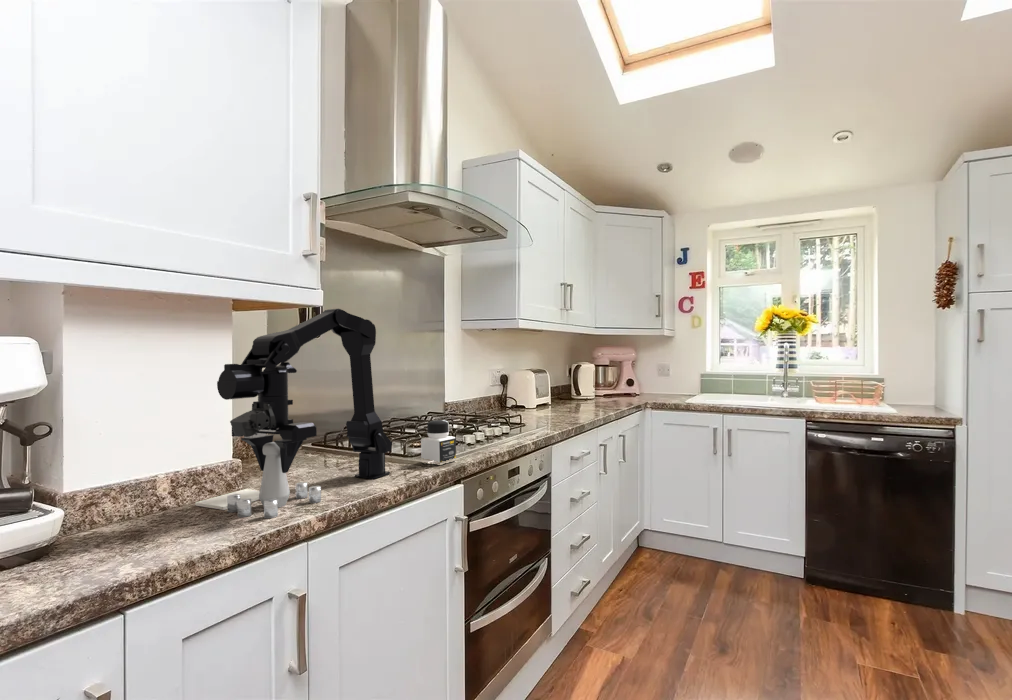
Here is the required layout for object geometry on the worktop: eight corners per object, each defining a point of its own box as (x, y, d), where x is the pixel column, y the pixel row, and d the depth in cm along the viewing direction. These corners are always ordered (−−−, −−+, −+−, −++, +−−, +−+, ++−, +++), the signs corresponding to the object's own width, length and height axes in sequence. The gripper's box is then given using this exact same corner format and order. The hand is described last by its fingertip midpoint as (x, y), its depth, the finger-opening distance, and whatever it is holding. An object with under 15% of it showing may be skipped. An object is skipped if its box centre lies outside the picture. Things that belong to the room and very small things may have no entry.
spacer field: (285, 493, 116) (285, 479, 116) (328, 498, 110) (328, 484, 110) (217, 513, 101) (217, 498, 101) (263, 521, 96) (263, 505, 96)
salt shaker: (270, 511, 102) (269, 445, 102) (253, 507, 105) (252, 443, 105) (296, 504, 107) (295, 441, 107) (279, 500, 110) (278, 439, 110)
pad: (246, 491, 118) (246, 488, 118) (273, 495, 115) (273, 492, 115) (195, 505, 108) (195, 502, 108) (223, 509, 104) (223, 506, 104)
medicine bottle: (440, 466, 142) (439, 422, 142) (420, 463, 146) (420, 421, 146) (456, 461, 148) (455, 419, 148) (437, 459, 152) (436, 418, 152)
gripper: (206, 398, 103) (207, 476, 103) (271, 399, 95) (273, 484, 95) (255, 394, 113) (256, 465, 113) (317, 395, 105) (319, 471, 105)
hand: (274, 471), depth 106 cm, fingers open, 6 cm apart
